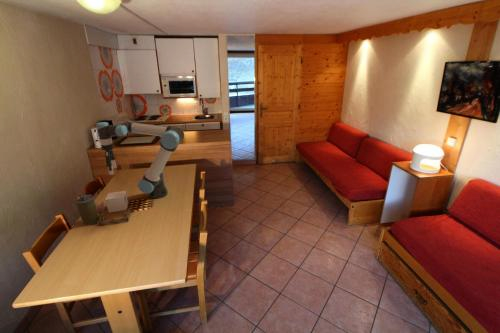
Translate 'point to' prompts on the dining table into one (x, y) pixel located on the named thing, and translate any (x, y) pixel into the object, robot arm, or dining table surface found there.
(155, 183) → the robot arm
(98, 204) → the brown small blob
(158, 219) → the dining table surface
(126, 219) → the display bay
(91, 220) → the canister
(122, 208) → the carton
